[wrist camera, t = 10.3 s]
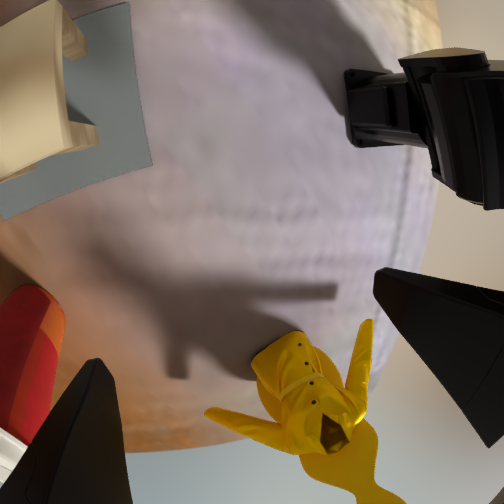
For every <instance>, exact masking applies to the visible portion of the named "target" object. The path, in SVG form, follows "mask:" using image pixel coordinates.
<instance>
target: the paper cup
mask: <svg viewBox="0 0 504 504" xmlns="http://www.w3.org/2000/svg"><path fill="white" fill-rule="evenodd" d="M64 330H65V316H64V313H63V310H62V308H61V306H60V305H59V303H58V302H57V301H56V299H55V298H54V297H53V296H52V295H51V294H50V293H48V292H47V291H46V290H44V289H42V288H40V287H38V286H35V285H22V286H20V287H18V288H17V289H15V290H14V291H13V292H12V293H11V294H10V295H9V297H8V298H7V299H6V300H5V301H4V302H3V304H2V305H1V306H0V481H1V482H3V483H4V482H5V481H6V479H7V478H8V477H9V475H10V474H11V472H12V471H13V469H14V468H15V466H16V465H17V463H18V462H19V460H20V459H21V457H22V455H23V454H24V452H25V451H26V449H27V447H28V446H29V444H30V443H32V439H33V438H34V436H35V435H36V433H37V431H38V430H39V428H40V427H41V425H42V424H43V422H44V421H45V419H46V418H47V416H48V415H49V413H50V406H51V399H52V392H53V385H54V379H55V374H56V368H57V363H58V358H59V353H60V349H61V344H62V339H63V335H64Z"/></svg>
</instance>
